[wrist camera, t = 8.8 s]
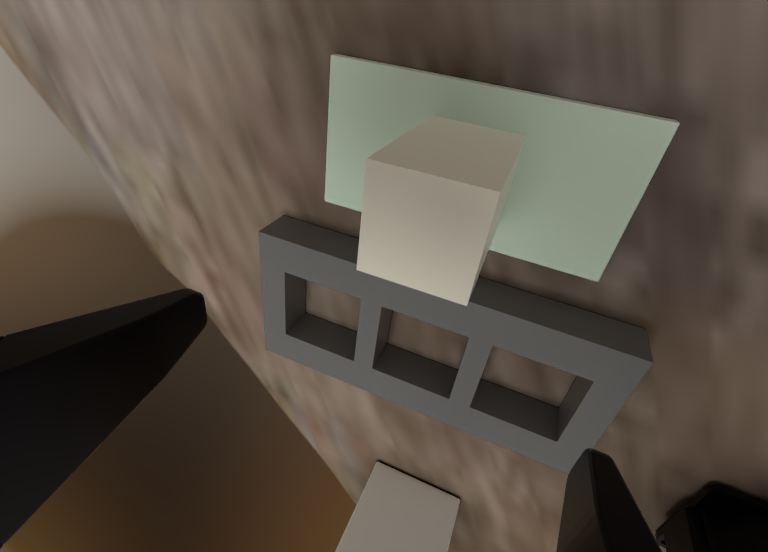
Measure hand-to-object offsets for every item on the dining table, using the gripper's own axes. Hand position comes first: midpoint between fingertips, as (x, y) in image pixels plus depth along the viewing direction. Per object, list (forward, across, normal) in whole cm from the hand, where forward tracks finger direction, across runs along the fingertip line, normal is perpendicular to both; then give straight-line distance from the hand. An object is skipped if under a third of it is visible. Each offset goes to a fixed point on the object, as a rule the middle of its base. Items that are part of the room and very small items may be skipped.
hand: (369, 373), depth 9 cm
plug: (+12, +1, -1) cm, 12 cm away
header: (+13, +1, +9) cm, 16 cm away
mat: (+13, +1, -1) cm, 13 cm away
